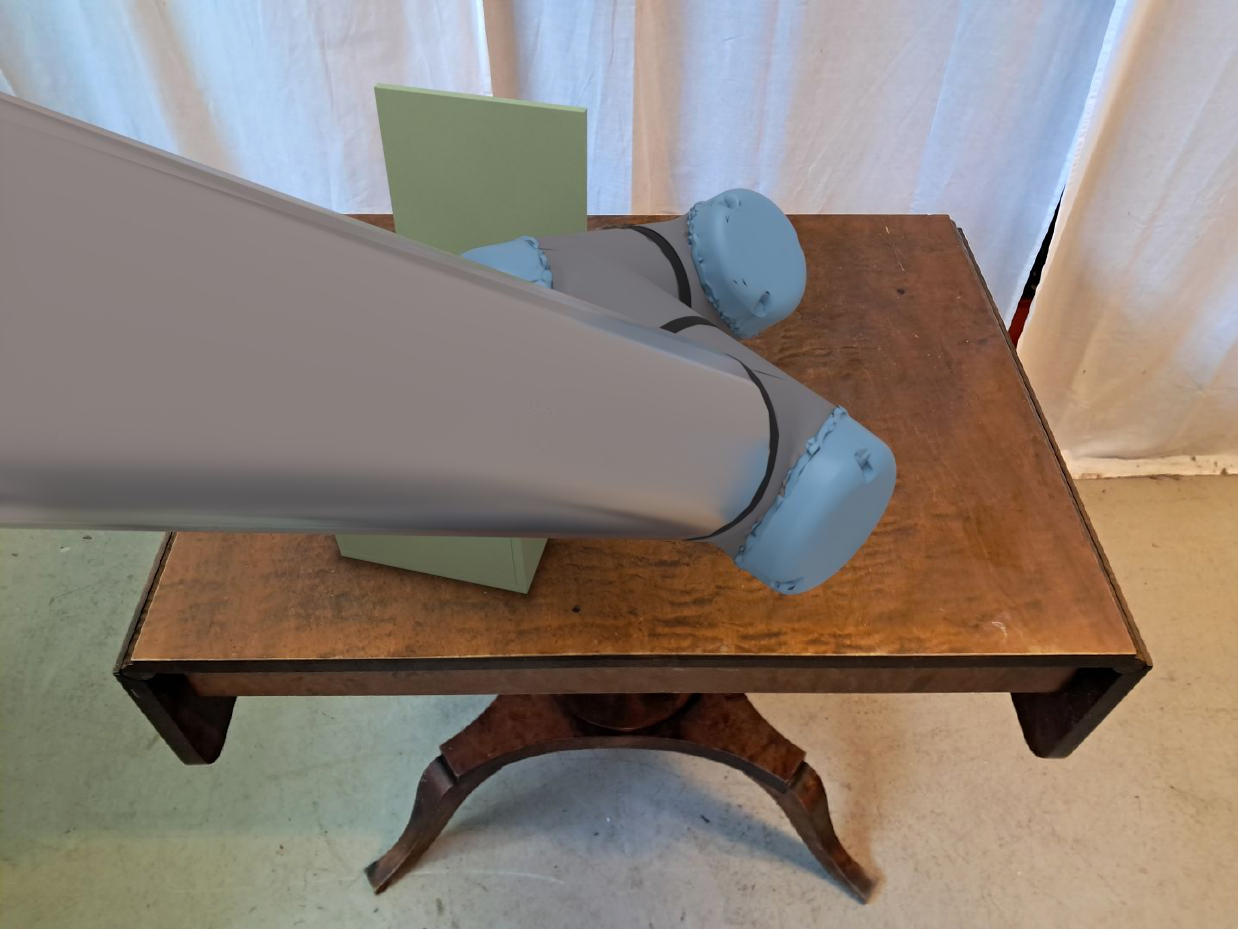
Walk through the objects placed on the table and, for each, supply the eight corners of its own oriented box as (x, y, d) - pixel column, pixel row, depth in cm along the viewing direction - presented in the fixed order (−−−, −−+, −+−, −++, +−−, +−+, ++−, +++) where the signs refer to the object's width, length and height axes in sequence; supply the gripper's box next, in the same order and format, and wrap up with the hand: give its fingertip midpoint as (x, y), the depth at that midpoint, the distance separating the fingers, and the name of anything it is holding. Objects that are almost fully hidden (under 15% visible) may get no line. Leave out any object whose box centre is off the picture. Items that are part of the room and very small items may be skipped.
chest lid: (584, 111, 65) (587, 107, 65) (373, 86, 67) (377, 82, 68) (584, 344, 78) (587, 339, 78) (407, 316, 80) (411, 311, 81)
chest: (527, 594, 73) (517, 513, 66) (341, 556, 76) (312, 473, 69) (588, 429, 86) (586, 346, 78) (427, 401, 88) (410, 318, 81)
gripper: (534, 497, 55) (376, 553, 72) (708, 296, 68) (539, 384, 85) (450, 399, 53) (308, 480, 70) (645, 211, 66) (485, 318, 83)
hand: (434, 427), depth 78 cm, fingers closed on bowl, 10 cm apart
